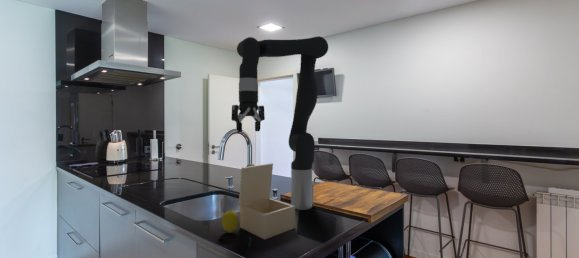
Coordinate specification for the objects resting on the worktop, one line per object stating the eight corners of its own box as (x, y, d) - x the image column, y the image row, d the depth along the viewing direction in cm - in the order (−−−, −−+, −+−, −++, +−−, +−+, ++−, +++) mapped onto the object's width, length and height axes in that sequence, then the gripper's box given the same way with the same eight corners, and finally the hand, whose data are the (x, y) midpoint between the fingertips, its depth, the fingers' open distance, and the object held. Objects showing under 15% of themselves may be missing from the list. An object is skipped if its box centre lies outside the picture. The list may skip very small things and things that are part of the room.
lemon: (230, 237, 96) (230, 213, 96) (218, 233, 99) (218, 210, 99) (241, 231, 101) (241, 209, 101) (230, 228, 104) (229, 206, 104)
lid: (269, 197, 114) (259, 192, 119) (273, 163, 112) (262, 159, 117) (239, 205, 105) (230, 199, 109) (242, 168, 102) (232, 163, 107)
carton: (269, 218, 115) (269, 198, 114) (294, 227, 104) (294, 206, 104) (240, 227, 105) (240, 205, 104) (264, 239, 95) (264, 215, 94)
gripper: (257, 92, 121) (257, 130, 122) (227, 89, 112) (227, 132, 112) (268, 91, 116) (268, 131, 117) (238, 88, 106) (238, 132, 107)
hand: (248, 131), depth 114 cm, fingers open, 8 cm apart
